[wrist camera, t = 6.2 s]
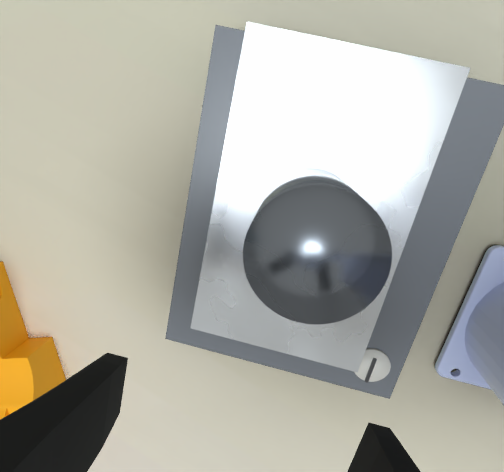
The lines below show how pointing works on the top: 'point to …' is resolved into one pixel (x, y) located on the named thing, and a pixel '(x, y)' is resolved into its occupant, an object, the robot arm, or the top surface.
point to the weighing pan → (319, 157)
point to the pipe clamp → (23, 356)
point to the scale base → (413, 255)
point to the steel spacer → (316, 249)
